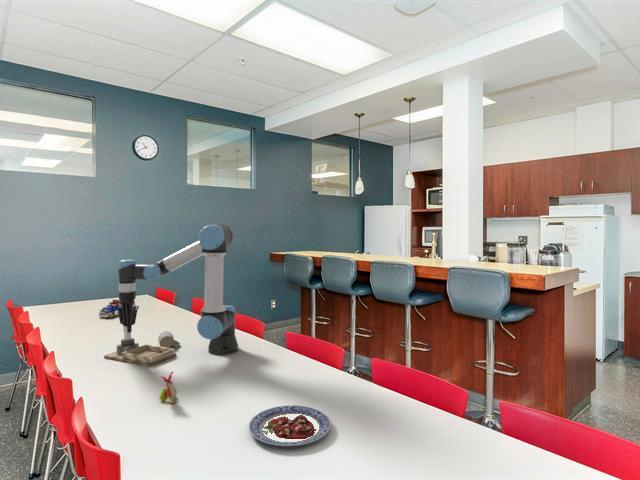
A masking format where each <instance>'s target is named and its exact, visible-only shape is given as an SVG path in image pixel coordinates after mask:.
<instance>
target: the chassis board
mask: <svg viewBox="0 0 640 480" xmlns="http://www.w3.org/2000/svg"><path fill="white" fill-rule="evenodd" d="M103 357H104V359H106V360H107V359H108V360H113V361H118V362H123V363H128V364H133V365H140V366H144V367H148V368H149V367H152V366H155V365H157V364H160V363H162V362H165V361H167V360H169V359H172V358H174V357H177V353H176V352H175V349H174V348H172V347H171V348H165V347H161V346H160V345H159V346H158V345H151V344H147V343H146V344H143V345H140V343H139V342H134V344H132V345H127V346H124V345H121V343H120V344H117V345H116V351H115V352H112V353H107V354H105V355H103Z"/></svg>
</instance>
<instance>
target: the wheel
mask: <svg viewBox="0 0 640 480" xmlns="http://www.w3.org/2000/svg"><path fill="white" fill-rule="evenodd" d="M134 343H135V338H133V337H131V338H130V339H127V340H126V339H124V338H123V339H121V340H120V344H121V345H124V346H127V345H132V344H134Z"/></svg>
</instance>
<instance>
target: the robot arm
mask: <svg viewBox="0 0 640 480" xmlns="http://www.w3.org/2000/svg"><path fill="white" fill-rule="evenodd" d="M233 239H234V233H233V230H232V229H231V228H230V227H229V226H228V225H225V224H216V223H213V224H209V225H206V226H204V227H203V228H201V230H200V231H199V233H198V241H196V242H193V243H192V244H190V245H187V246H186V247H185V248H182V249H180V250H179V251H177V252H175V253H173V254H170V255H169V256H167V257H165V258H163V259H160V260H159V261H157V262H151V263H147V264H141V263H140V264H138V263H136V260H134V259H121V260H120V261H119V262H118V268H117V269H118V270H117V271H118V300H120V304H118V305H116V307H117V309H118V311H117V312H118V313H117V314H118V319H119V323H120V325H122V326H123V333H124V334H123V335H124V336H123V337H124V338H123V339H126V340H127V339H130V338H132V331H133V330H132V329H133V328H132V326H133V325H135V324H136V321H137V320H136V319H137V314H138V310H139V308H140V306H139V305H136V302H135V299H136V297H137V294H136V282H137V281H136V280H139V281H140V280H142V281H143V280H144V281H156V280H158V279H159V278H160V277H161V278H162V277H164V276H167V275H169V274H170V273H171V272H173V271H175V270H178V268H181V267H183V266H185V265H186V264H188V263H190V262H192V261H195V260H197V259H198V258H201V257H202V256H204V305H203V307H202V308H201V309H200V319H199V320H198V322H197V324H196V329H197V333H198V334H199V335H200V336H201V337H202V338H204V339H206V340H210V341H209V344H208V347H207V351H208V353H209V354H213V355H230V354H233V353H236V352H238V351H239V343H238V341H237V337H236V308H235V306H233V305H224V263H225V262H224V257H225V256H226V254H228V247H229V246H230V245H231V244H232V242H233Z"/></svg>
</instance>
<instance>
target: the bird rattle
mask: <svg viewBox="0 0 640 480" xmlns="http://www.w3.org/2000/svg"><path fill="white" fill-rule="evenodd" d="M173 373H174V371H171V372H170V373H169V375H168V377H167V378H166V377H165V376H163V375H160V378H161V379H163V381H164V383H166V385H165V386H166V387H164V388H163V389H162V390H161V392H160V395H159V398H158V399H159V400H161V402H162V403H165V402H167V400H168V399H169V401H170V403H171V404H172V405H175V404H176V403H177V394H178V393H177V392H178V391H177V388H175V385H174V382H173V381H172V375H173Z"/></svg>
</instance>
